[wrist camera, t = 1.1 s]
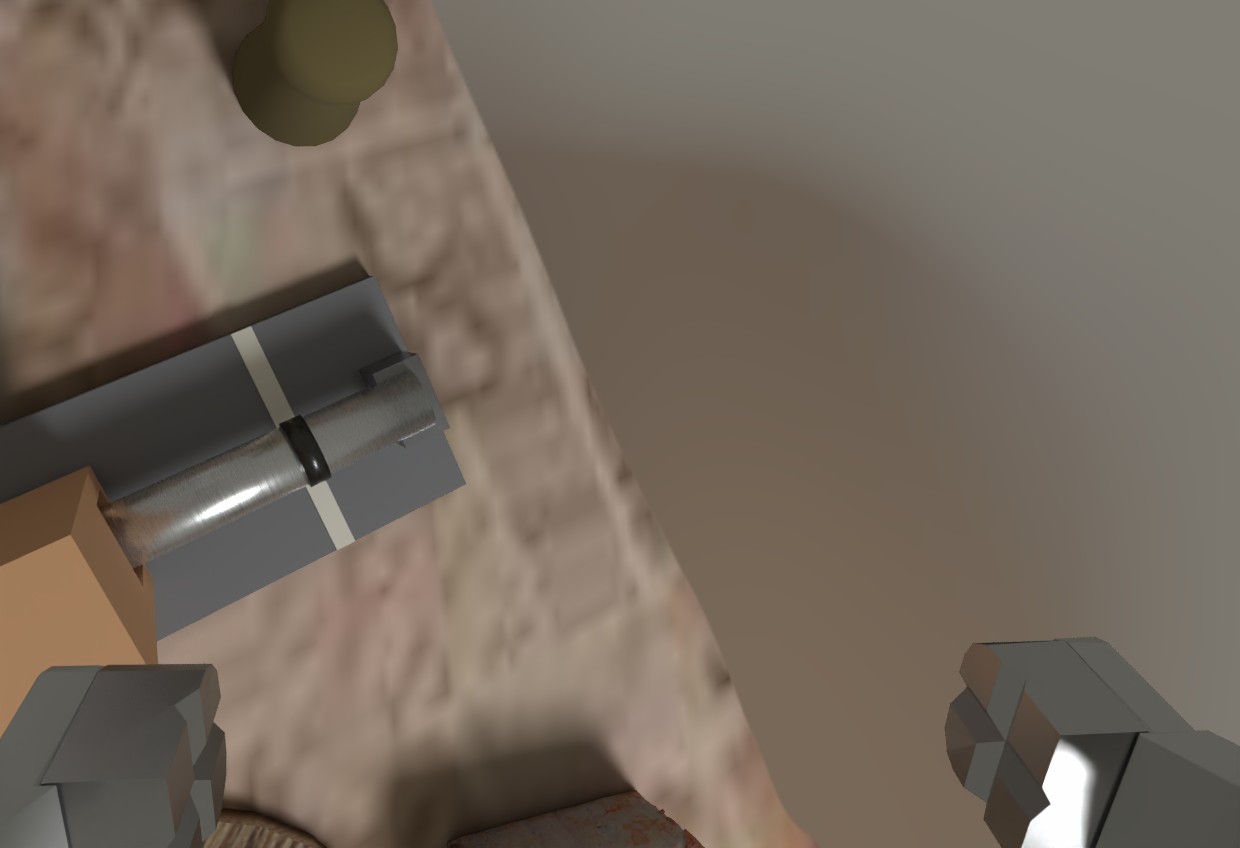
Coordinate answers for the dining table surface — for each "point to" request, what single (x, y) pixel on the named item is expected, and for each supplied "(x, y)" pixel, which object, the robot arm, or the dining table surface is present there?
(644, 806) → the food item
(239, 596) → the base board
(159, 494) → the grey banded bar
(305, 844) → the trivet
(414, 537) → the dining table surface
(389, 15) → the cork
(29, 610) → the orange brown tall block
